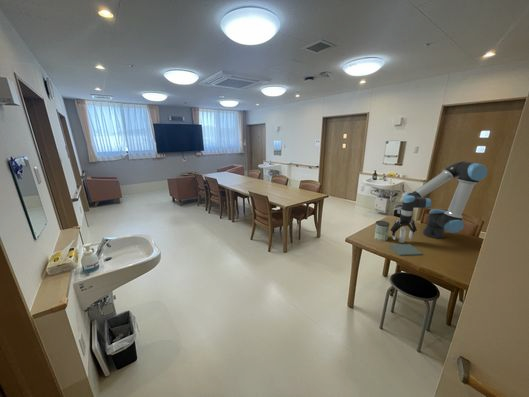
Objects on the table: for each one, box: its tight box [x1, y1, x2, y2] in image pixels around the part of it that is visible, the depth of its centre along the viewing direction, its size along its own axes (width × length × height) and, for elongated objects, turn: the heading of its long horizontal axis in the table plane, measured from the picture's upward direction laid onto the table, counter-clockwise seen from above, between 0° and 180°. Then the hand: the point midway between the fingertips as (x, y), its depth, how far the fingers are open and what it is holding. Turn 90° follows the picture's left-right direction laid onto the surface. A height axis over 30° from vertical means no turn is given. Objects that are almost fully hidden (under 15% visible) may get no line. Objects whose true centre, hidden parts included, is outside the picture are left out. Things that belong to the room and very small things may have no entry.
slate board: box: [388, 243, 423, 257], centre depth 163 cm, size 17×14×1 cm
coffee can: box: [373, 220, 391, 242], centre depth 181 cm, size 10×10×14 cm
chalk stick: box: [398, 227, 407, 244], centre depth 174 cm, size 4×4×12 cm
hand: (401, 238), depth 175 cm, fingers open, 13 cm apart
